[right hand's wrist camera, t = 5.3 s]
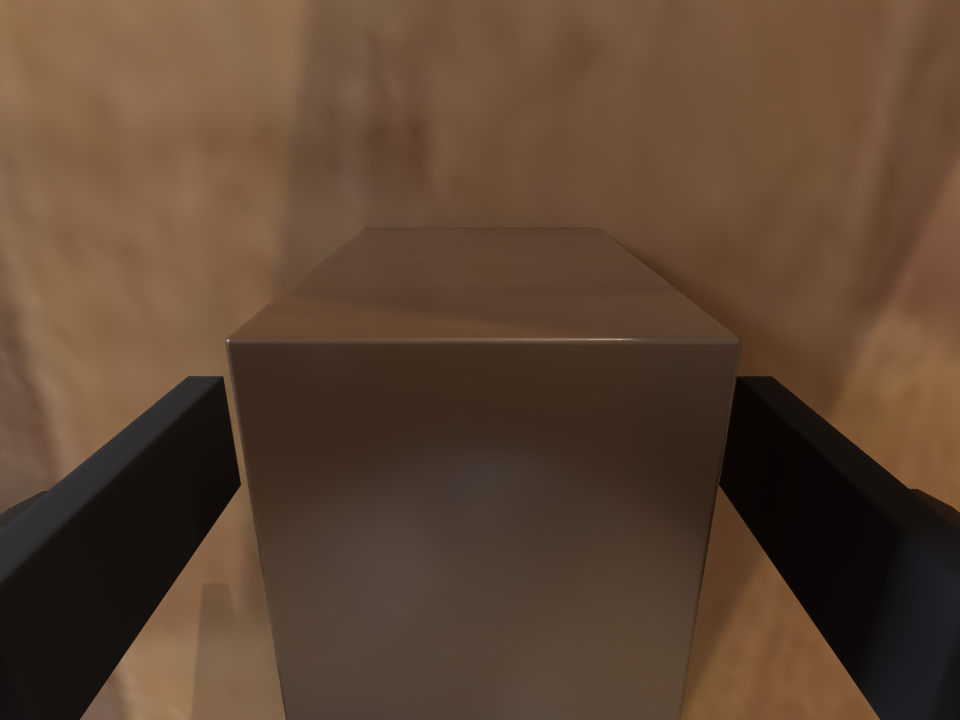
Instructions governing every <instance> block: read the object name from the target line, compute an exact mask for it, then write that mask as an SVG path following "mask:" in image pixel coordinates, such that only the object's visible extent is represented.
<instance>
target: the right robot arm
mask: <svg viewBox="0 0 960 720" xmlns="http://www.w3.org/2000/svg"><path fill="white" fill-rule="evenodd" d="M240 486H241V482H240V475H239V469H238V463H237V457H236V451H235V445H234V439H233V433H232V427H231V421H230V415H229V409H228V403H227V397H226V391H225V385H224V379H223V376H188V377H187V378H186V379H184V380H183V381H182V382H181V383H180V384H178V385H177V386H176V387H175V388H174V389H172V390H171V391H170V392H169V393H167V394H166V395H165V396H164V397H163V398H161V399H160V400H159V401H158V402H156V403H155V404H154V405H153V406H152V407H150V408H149V409H148V410H147V411H145V412H144V413H143V414H142V415H141V416H139V417H138V418H137V419H136V420H134V421H133V422H132V423H131V424H130V425H128V426H127V427H126V428H125V429H124V430H122V431H121V432H120V433H119V434H117V435H116V436H115V437H114V438H113V439H111V440H110V441H109V442H108V443H106V444H105V445H104V446H103V447H102V448H100V449H99V450H98V451H97V452H95V453H94V454H93V455H92V456H91V457H89V458H88V459H87V460H86V461H85V462H83V463H82V464H81V465H80V466H78V467H77V468H76V469H75V470H74V471H72V472H71V473H70V474H69V475H67V476H66V477H65V478H64V479H63V480H61V481H60V482H59V483H58V484H56V485H55V486H54V487H53V488H52V489H50V490H49V491H43V492H41V493H39V494H37V495H35V496H33V497H31V498H29V499H27V500H25V501H23V502H21V503H19V504H17V505H15V506H13V507H11V508H9V509H8V510H7V511H5V512H4V513H3V514H2V515H0V720H80V718H81V717H82V716H83V714H84V713H85V711H86V710H87V708H88V707H89V705H90V704H91V702H92V701H93V699H94V698H95V697H96V695H97V694H98V692H99V691H100V689H101V688H102V686H103V685H104V683H105V682H106V681H107V679H108V678H109V676H110V675H111V673H112V672H113V670H114V669H115V667H116V666H117V665H118V663H119V662H120V660H121V659H122V657H123V656H124V654H125V653H126V651H127V650H128V649H129V647H130V646H131V644H132V643H133V641H134V640H135V638H136V637H137V635H138V634H139V633H140V631H141V630H142V628H143V627H144V625H145V624H146V622H147V621H148V619H149V618H150V617H151V615H152V614H153V612H154V611H155V609H156V608H157V606H158V605H159V603H160V602H161V601H162V599H163V598H164V596H165V595H166V593H167V592H168V590H169V589H170V587H171V586H172V585H173V583H174V582H175V580H176V579H177V577H178V576H179V574H180V573H181V571H182V570H183V569H184V567H185V566H186V564H187V563H188V561H189V560H190V558H191V557H192V555H193V554H194V553H195V551H196V550H197V548H198V547H199V545H200V544H201V542H202V541H203V539H204V538H205V537H206V535H207V534H208V532H209V531H210V529H211V528H212V526H213V525H214V523H215V522H216V520H217V519H218V518H219V516H220V515H221V513H222V512H223V510H224V509H225V507H226V506H227V504H228V503H229V502H230V500H231V499H232V497H233V496H234V494H235V493H236V491H237V490H238V488H239V487H240ZM719 486H720V487H721V488H722V490H723V491H724V493H725V494H726V496H727V497H728V499H729V500H730V502H731V503H732V504H733V506H734V507H735V509H736V510H737V512H738V513H739V515H740V516H741V518H742V519H743V520H744V522H745V523H746V525H747V526H748V528H749V529H750V531H751V532H752V534H753V535H754V536H755V538H756V539H757V541H758V542H759V544H760V545H761V547H762V548H763V550H764V551H765V552H766V554H767V555H768V557H769V558H770V560H771V561H772V563H773V564H774V566H775V567H776V569H777V570H778V571H779V573H780V574H781V576H782V577H783V579H784V580H785V582H786V583H787V585H788V586H789V587H790V589H791V590H792V592H793V593H794V595H795V596H796V598H797V599H798V601H799V602H800V603H801V605H802V606H803V608H804V609H805V611H806V612H807V614H808V615H809V617H810V618H811V619H812V621H813V622H814V624H815V625H816V627H817V628H818V630H819V631H820V633H821V634H822V635H823V637H824V638H825V640H826V641H827V643H828V644H829V646H830V647H831V649H832V650H833V651H834V653H835V654H836V656H837V657H838V659H839V660H840V662H841V663H842V665H843V666H844V667H845V669H846V670H847V672H848V673H849V675H850V676H851V678H852V679H853V681H854V682H855V683H856V685H857V686H858V688H859V689H860V691H861V692H862V694H863V695H864V697H865V698H866V699H867V701H868V702H869V704H870V705H871V707H872V708H873V710H874V711H875V713H876V714H877V715H878V717H879V718H880V720H960V513H959V512H958V511H957V510H956V509H954V508H953V507H952V506H950V505H948V504H946V503H944V502H942V501H940V500H938V499H936V498H934V497H932V496H930V495H928V494H926V493H924V492H922V491H920V490H918V489H908V488H907V487H906V486H905V485H904V484H902V483H901V482H900V481H899V480H897V479H896V478H895V477H894V476H893V475H891V474H890V473H889V472H888V471H886V470H885V469H884V468H883V467H882V466H880V465H879V464H878V463H877V462H875V461H874V460H873V459H872V458H871V457H869V456H868V455H867V454H866V453H865V452H863V451H862V450H861V449H860V448H858V447H857V446H856V445H855V444H854V443H852V442H851V441H850V440H849V439H847V438H846V437H845V436H844V435H843V434H841V433H840V432H839V431H838V430H836V429H835V428H834V427H833V426H832V425H830V424H829V423H828V422H827V421H826V420H824V419H823V418H822V417H821V416H819V415H818V414H817V413H816V412H815V411H813V410H812V409H811V408H810V407H808V406H807V405H806V404H805V403H804V402H802V401H801V400H800V399H799V398H797V397H796V396H795V395H794V394H793V393H791V392H790V391H789V390H788V389H787V388H785V387H784V386H783V385H782V384H780V383H779V382H778V381H777V380H776V379H774V378H773V377H772V376H737V379H736V385H735V391H734V397H733V403H732V409H731V415H730V421H729V427H728V433H727V439H726V445H725V451H724V457H723V463H722V470H721V476H720V482H719Z"/></svg>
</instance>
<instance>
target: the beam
mask: <svg viewBox="0 0 960 720" xmlns="http://www.w3.org/2000/svg"><path fill="white" fill-rule="evenodd" d="M226 349H227V355H228V361H229V368H230V374H231V380H232V386H233V393H234V399H235V405H236V411H237V417H238V424H239V430H240V436H241V442H242V449H243V455H244V461H245V467H246V473H247V480H248V486H249V492H250V498H251V505H252V511H253V517H254V523H255V529H256V536H257V542H258V548H259V554H260V561H261V567H262V573H263V579H264V585H265V592H266V598H267V604H268V610H269V617H270V623H271V629H272V635H273V642H274V648H275V654H276V660H277V666H278V673H279V679H280V685H281V691H282V698H283V704H284V710H285V716H286V720H679V719H680V713H681V707H682V701H683V694H684V688H685V682H686V676H687V670H688V664H689V658H690V652H691V646H692V640H693V634H694V628H695V622H696V616H697V610H698V604H699V598H700V591H701V585H702V579H703V573H704V567H705V561H706V555H707V549H708V543H709V537H710V531H711V525H712V519H713V513H714V507H715V501H716V494H717V488H718V482H719V476H720V470H721V464H722V458H723V452H724V446H725V440H726V434H727V428H728V422H729V416H730V410H731V404H732V398H733V391H734V385H735V379H736V373H737V367H738V361H739V355H740V349H741V340H740V338H739V337H738V336H737V335H735V334H734V333H733V332H732V331H730V330H729V329H728V328H726V327H725V326H724V325H723V324H721V323H720V322H719V321H717V320H716V319H715V318H714V317H712V316H711V315H710V314H708V313H707V312H706V311H705V310H703V309H702V308H701V307H699V306H698V305H697V304H696V303H694V302H693V301H692V300H690V299H689V298H688V297H687V296H685V295H684V294H683V293H681V292H680V291H679V290H678V289H676V288H675V287H674V286H672V285H671V284H670V283H669V282H667V281H666V280H665V279H663V278H662V277H661V276H660V275H658V274H657V273H656V272H654V271H653V270H652V269H651V268H649V267H648V266H647V265H645V264H644V263H643V262H642V261H640V260H639V259H638V258H636V257H635V256H634V255H633V254H631V253H630V252H629V251H627V250H626V249H625V248H624V247H622V246H621V245H620V244H618V243H617V242H616V241H615V240H613V239H612V238H611V237H609V236H608V235H607V234H606V233H604V232H603V231H602V230H600V229H598V228H365V229H363V230H362V231H361V232H359V233H358V234H357V235H356V236H354V237H353V238H352V239H351V240H349V241H348V242H347V243H346V244H344V245H343V246H342V247H341V248H339V249H338V250H337V251H336V252H334V253H333V254H332V255H331V256H329V257H328V258H327V259H326V260H324V261H323V262H322V263H321V264H319V265H318V266H317V267H315V268H314V269H313V270H312V271H310V272H309V273H308V274H307V275H305V276H304V277H303V278H302V279H300V280H299V281H298V282H297V283H295V284H294V285H293V286H292V287H290V288H289V289H288V290H287V291H285V292H284V293H283V294H282V295H280V296H279V297H278V298H277V299H275V300H274V301H273V302H271V303H270V304H269V305H268V306H266V307H265V308H264V309H263V310H261V311H260V312H259V313H258V314H256V315H255V316H254V317H253V318H251V319H250V320H249V321H248V322H246V323H245V324H244V325H243V326H241V327H240V328H239V329H238V330H236V331H235V332H234V333H233V334H231V335H230V336H229V337H228V338H227V340H226Z"/></svg>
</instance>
